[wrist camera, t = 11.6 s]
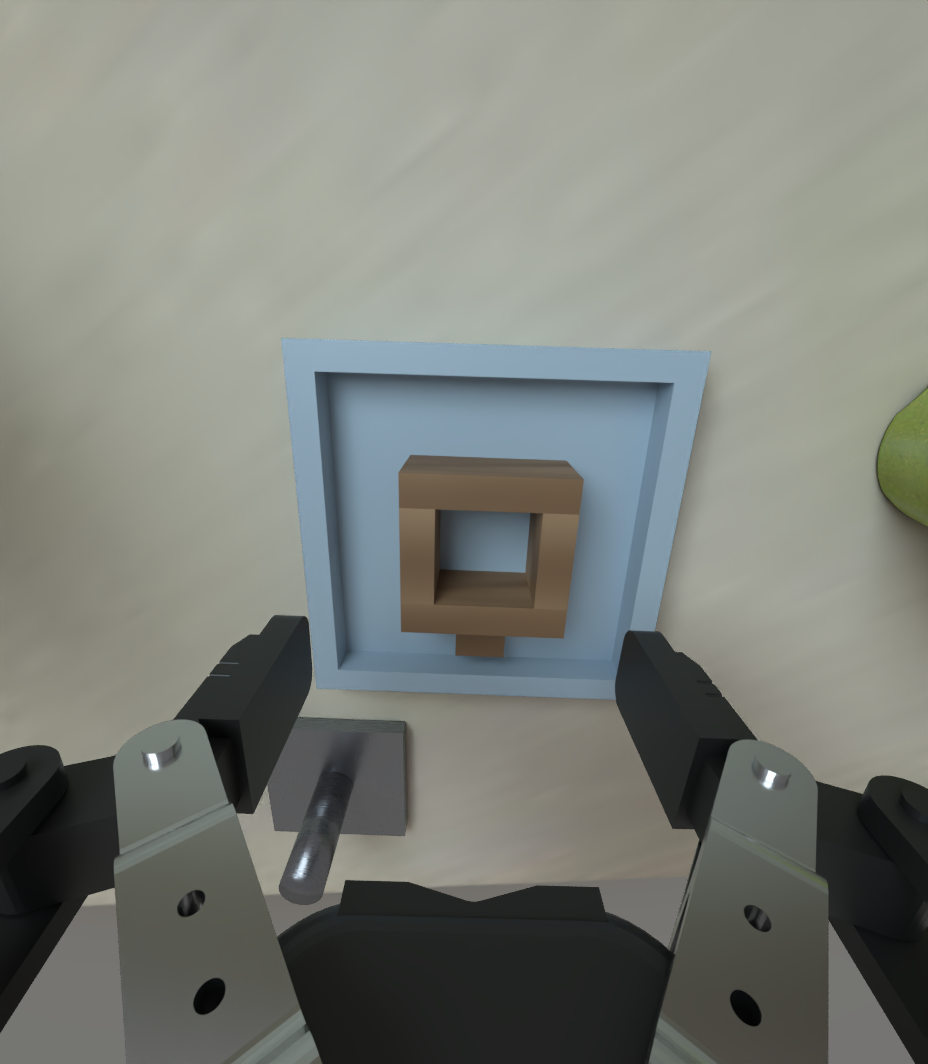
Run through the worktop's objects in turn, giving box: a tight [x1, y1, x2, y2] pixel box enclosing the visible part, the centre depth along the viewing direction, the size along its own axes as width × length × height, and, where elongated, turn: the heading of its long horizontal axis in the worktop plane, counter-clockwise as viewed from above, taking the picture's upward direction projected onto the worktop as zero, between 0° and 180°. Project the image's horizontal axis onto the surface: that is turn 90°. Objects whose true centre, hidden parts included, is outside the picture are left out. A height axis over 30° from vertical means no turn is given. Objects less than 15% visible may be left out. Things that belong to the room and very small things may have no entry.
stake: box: [267, 718, 407, 905], centre depth 22 cm, size 7×7×6 cm
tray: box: [281, 338, 711, 700], centre depth 18 cm, size 14×14×2 cm
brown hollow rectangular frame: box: [398, 455, 584, 658], centre depth 18 cm, size 8×6×3 cm
